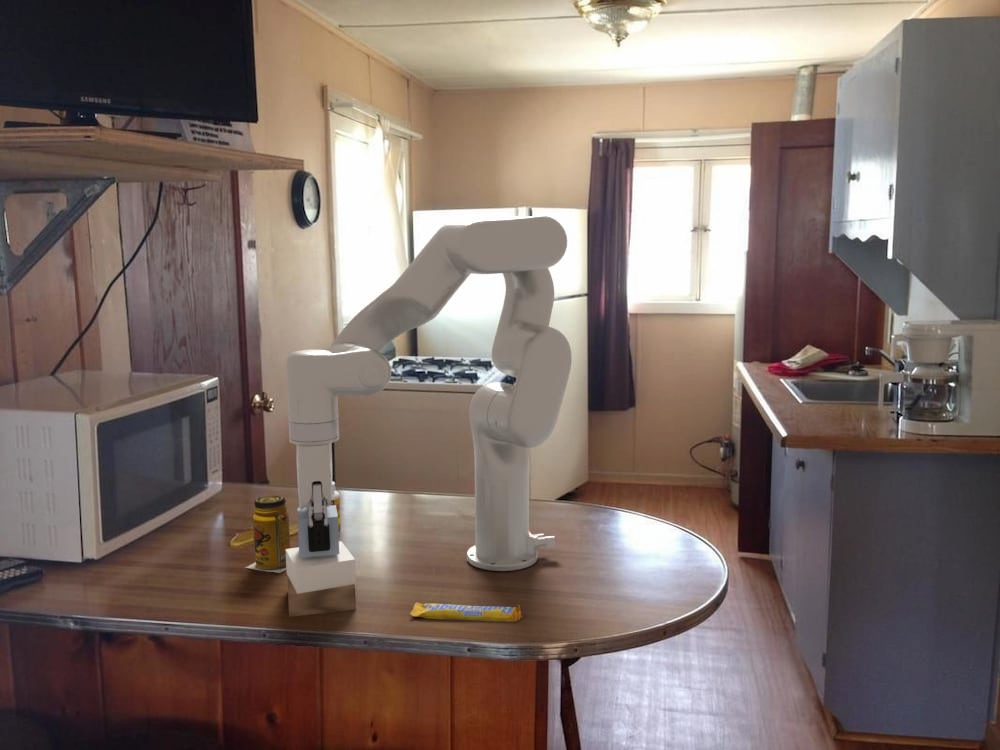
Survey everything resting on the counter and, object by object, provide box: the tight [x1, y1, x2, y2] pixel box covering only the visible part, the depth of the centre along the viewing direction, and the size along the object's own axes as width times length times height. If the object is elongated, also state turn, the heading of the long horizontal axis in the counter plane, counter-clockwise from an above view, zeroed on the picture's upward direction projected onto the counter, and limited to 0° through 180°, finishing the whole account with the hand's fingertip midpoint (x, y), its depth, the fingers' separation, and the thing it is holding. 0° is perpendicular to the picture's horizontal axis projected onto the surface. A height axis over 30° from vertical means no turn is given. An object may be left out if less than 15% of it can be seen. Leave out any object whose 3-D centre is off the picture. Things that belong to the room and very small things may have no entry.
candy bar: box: [409, 601, 523, 623], centre depth 130 cm, size 17×4×2 cm, turn 84°
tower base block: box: [286, 574, 357, 618], centre depth 135 cm, size 10×10×4 cm
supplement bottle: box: [330, 480, 341, 534], centre depth 165 cm, size 6×6×10 cm
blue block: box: [296, 505, 340, 558], centre depth 134 cm, size 6×6×6 cm
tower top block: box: [285, 540, 357, 594], centre depth 134 cm, size 9×9×4 cm
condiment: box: [244, 494, 291, 574], centre depth 150 cm, size 7×8×12 cm
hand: (318, 542), depth 134 cm, fingers closed on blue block, 5 cm apart
